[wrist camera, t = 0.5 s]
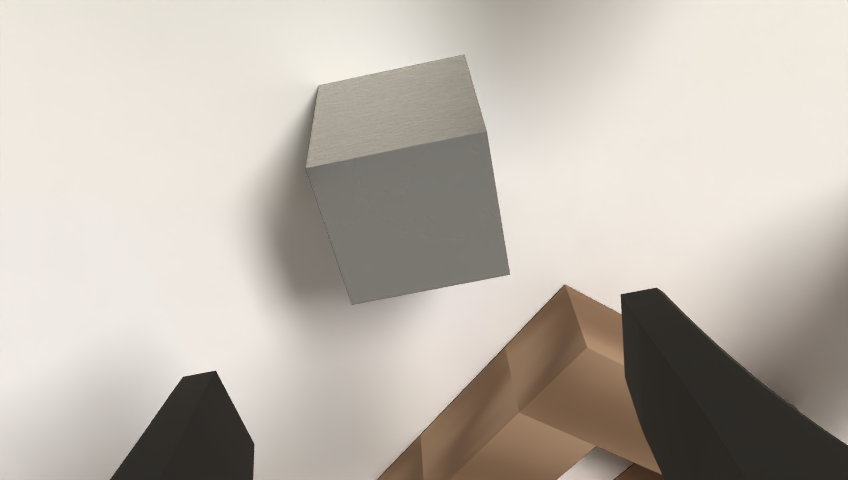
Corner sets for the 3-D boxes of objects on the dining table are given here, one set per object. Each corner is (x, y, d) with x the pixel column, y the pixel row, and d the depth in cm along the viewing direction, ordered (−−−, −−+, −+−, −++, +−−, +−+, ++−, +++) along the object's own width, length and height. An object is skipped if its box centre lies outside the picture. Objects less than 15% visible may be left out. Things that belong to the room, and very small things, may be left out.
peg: (464, 53, 19) (486, 131, 15) (485, 180, 21) (510, 274, 17) (319, 84, 19) (305, 168, 15) (356, 206, 22) (351, 304, 18)
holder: (565, 284, 24) (587, 347, 21) (796, 408, 28) (837, 472, 25) (375, 481, 29) (376, 549, 27) (594, 559, 33) (611, 624, 31)
